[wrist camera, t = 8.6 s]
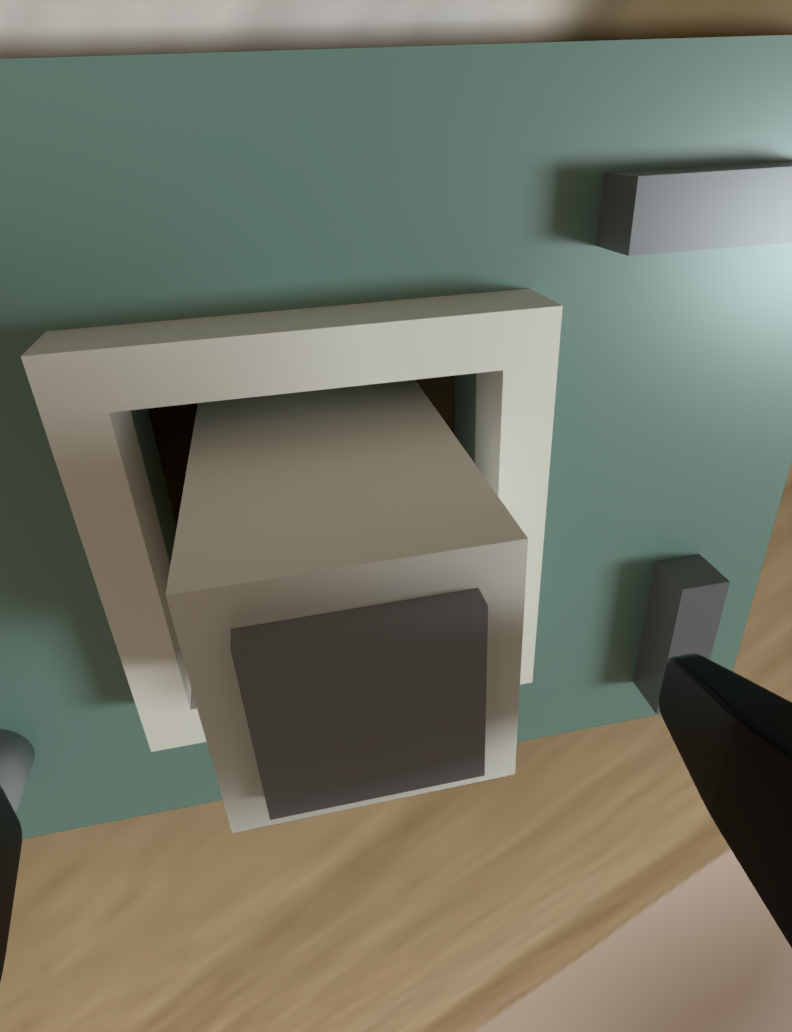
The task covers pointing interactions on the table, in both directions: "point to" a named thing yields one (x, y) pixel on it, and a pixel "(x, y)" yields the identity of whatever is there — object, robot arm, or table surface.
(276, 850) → the table surface
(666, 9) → the table surface
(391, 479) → the plug
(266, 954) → the table surface
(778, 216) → the board
